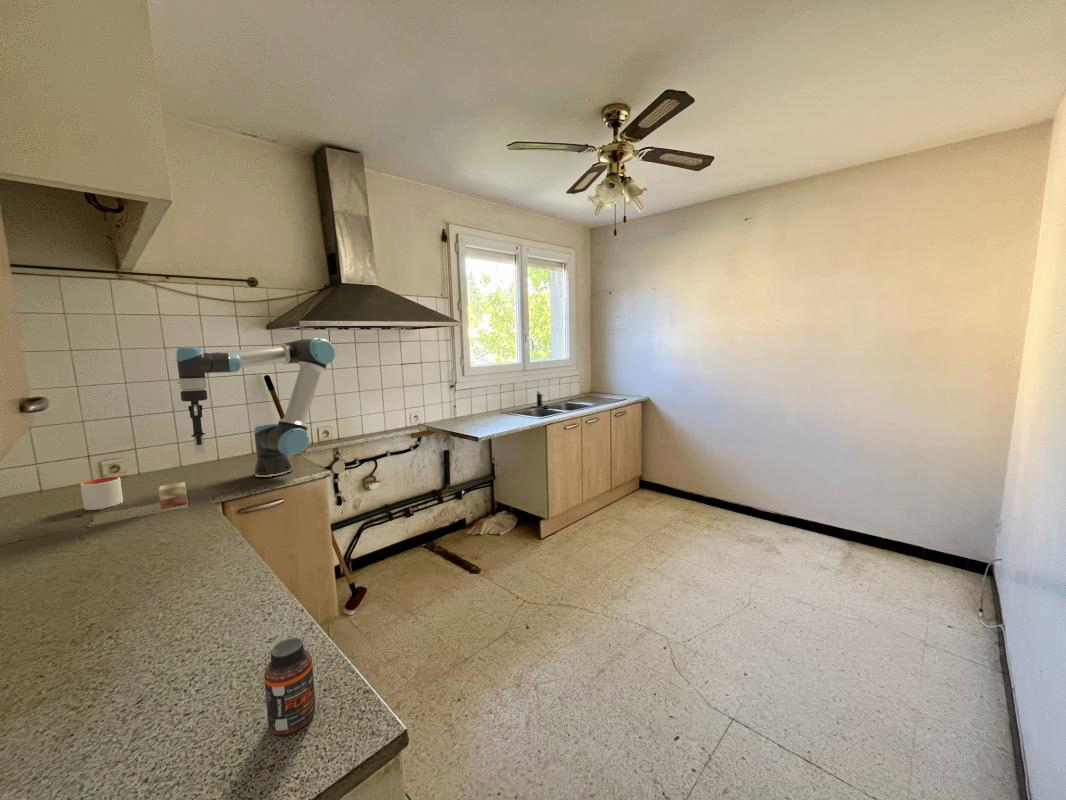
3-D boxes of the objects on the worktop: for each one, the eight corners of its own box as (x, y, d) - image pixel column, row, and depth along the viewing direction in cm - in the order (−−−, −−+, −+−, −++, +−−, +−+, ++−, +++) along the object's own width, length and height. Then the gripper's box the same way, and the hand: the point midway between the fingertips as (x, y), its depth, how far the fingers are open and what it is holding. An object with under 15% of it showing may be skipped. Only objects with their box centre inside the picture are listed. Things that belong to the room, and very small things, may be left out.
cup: (99, 512, 146) (95, 485, 145) (76, 511, 148) (72, 484, 147) (131, 502, 156) (127, 476, 155) (109, 502, 158) (105, 476, 157)
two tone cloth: (187, 500, 157) (185, 481, 156) (186, 504, 151) (184, 486, 150) (162, 504, 152) (160, 485, 151) (161, 509, 147) (158, 490, 146)
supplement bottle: (289, 744, 56) (281, 666, 55) (258, 730, 59) (251, 655, 57) (325, 709, 62) (319, 637, 61) (296, 697, 64) (290, 628, 63)
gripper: (180, 389, 156) (187, 451, 158) (179, 391, 145) (186, 457, 148) (206, 388, 160) (212, 448, 163) (206, 390, 150) (213, 454, 152)
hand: (200, 453), depth 155 cm, fingers closed
